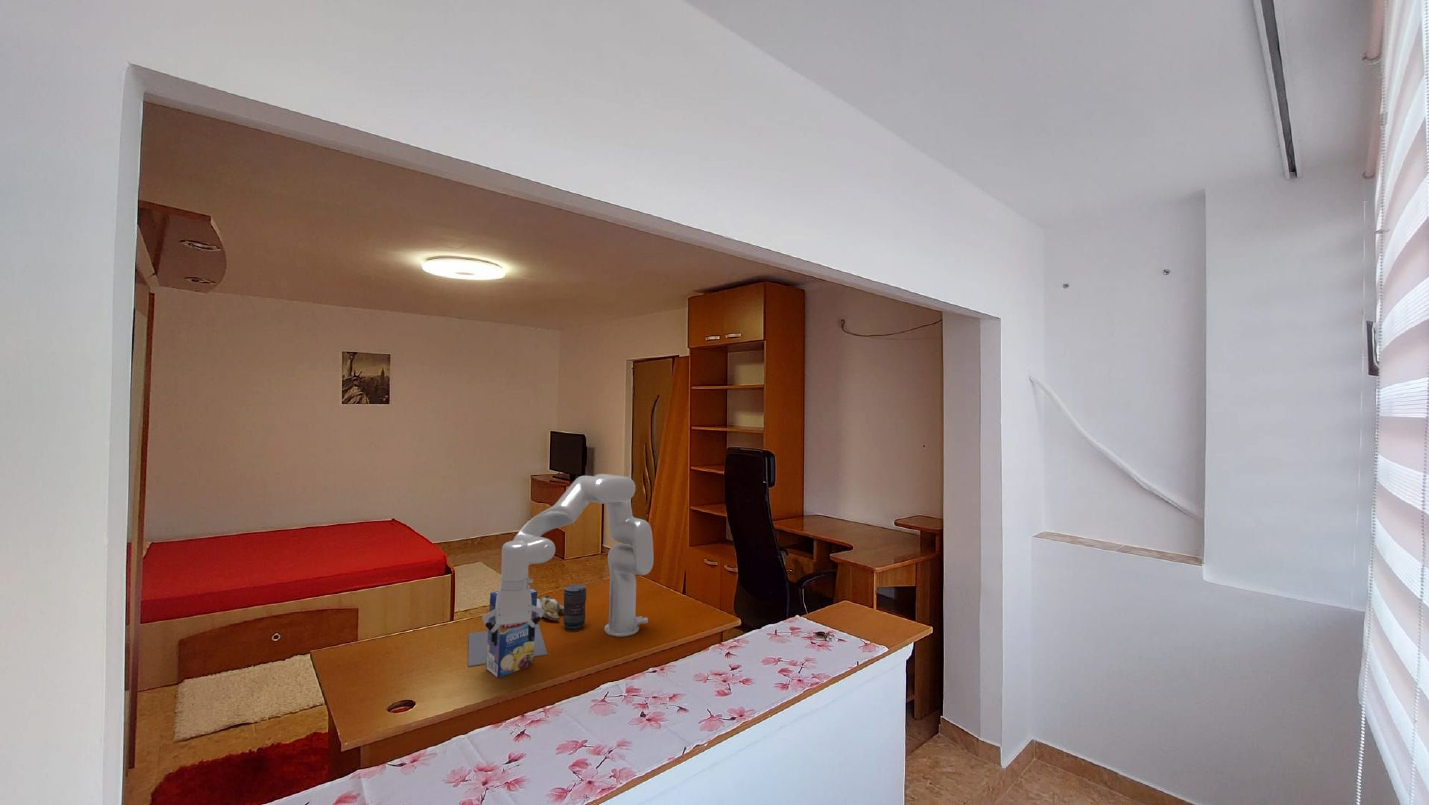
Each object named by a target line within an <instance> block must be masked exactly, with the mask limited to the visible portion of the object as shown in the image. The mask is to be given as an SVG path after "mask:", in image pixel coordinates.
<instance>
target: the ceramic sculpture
mask: <svg viewBox="0 0 1429 805" xmlns="http://www.w3.org/2000/svg"><path fill="white" fill-rule="evenodd" d="M537 607H539V608H541V609H543V610H544V614H543V616H542V617H543V618H545V619H548V620H550V621H557V620H561V618H562V617H560V616H559V614H564V605H561V604H560V602H559V601H558V600H557V599H556V598H553V597H552V598H551V597H550V595H545V596H542V597H541V599H539V598H538V597H537ZM537 614H538V613H537V612H536V616H537ZM542 617H541V618H542Z"/></svg>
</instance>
